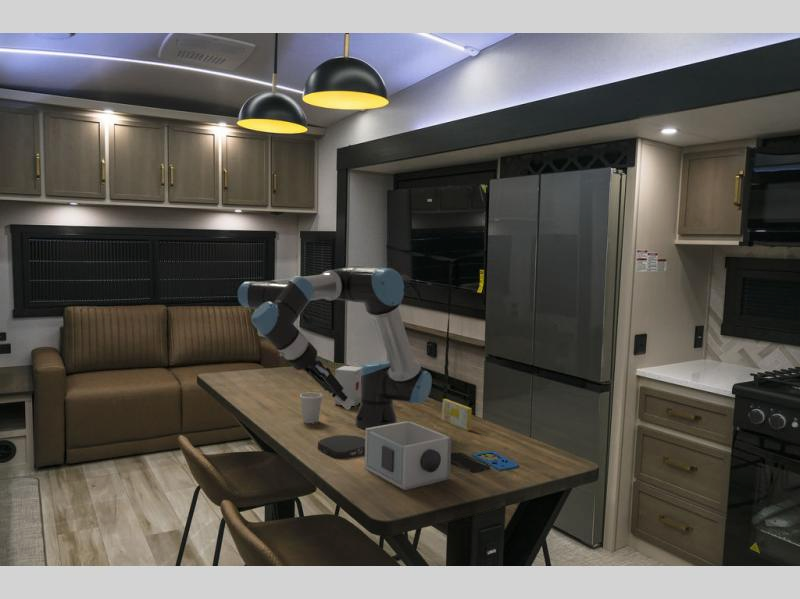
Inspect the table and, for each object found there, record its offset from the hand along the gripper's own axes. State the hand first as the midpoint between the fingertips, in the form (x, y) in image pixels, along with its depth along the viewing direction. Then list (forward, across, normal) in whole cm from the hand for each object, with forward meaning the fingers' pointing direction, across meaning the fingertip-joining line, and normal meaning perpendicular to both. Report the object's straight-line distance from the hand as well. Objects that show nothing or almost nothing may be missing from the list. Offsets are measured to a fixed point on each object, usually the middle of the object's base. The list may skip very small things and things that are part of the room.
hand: (350, 405), depth 178 cm
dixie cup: (+26, -55, -2) cm, 61 cm away
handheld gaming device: (+47, +12, +18) cm, 52 cm away
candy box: (+57, -24, +29) cm, 68 cm away
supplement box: (+43, -70, +16) cm, 84 cm away
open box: (+25, +7, -3) cm, 26 cm away
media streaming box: (+23, -21, -7) cm, 32 cm away
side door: (+19, +7, -8) cm, 22 cm away
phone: (+40, +9, +11) cm, 42 cm away
